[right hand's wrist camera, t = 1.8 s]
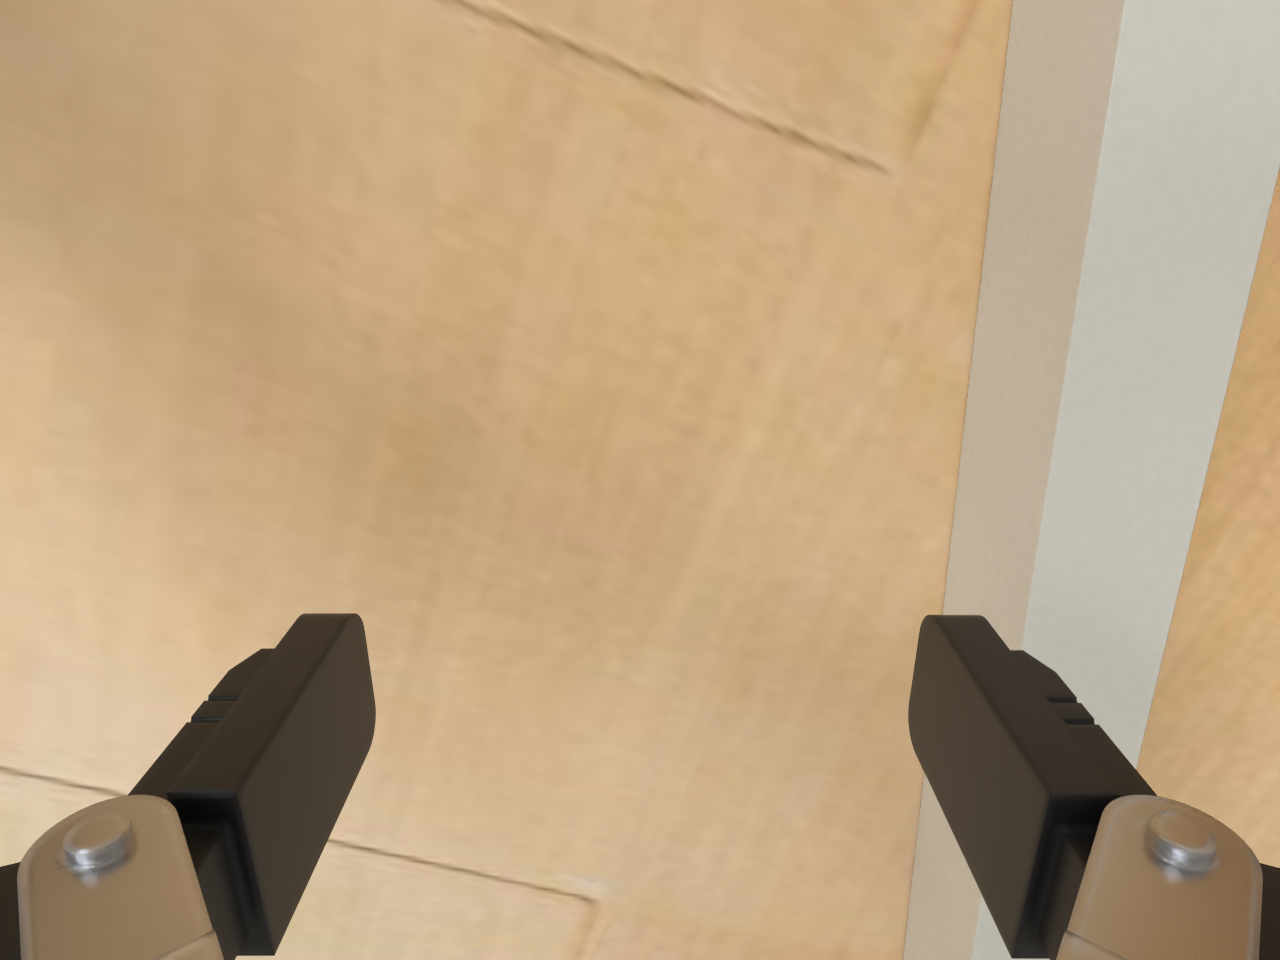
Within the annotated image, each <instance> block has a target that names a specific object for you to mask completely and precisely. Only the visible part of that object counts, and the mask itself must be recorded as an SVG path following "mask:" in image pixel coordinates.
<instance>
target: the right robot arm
mask: <svg viewBox="0 0 1280 960" xmlns="http://www.w3.org/2000/svg"><path fill="white" fill-rule="evenodd" d="M375 716H376V710H375V699H374V692H373V685H372V678H371V671H370V665H369V658H368V651H367V644H366V637H365V630H364V625H363V622H362V619H361V618H360V616H359V615H358V614H302V615H301V616H299V618H298V619H297V620H296V621H295V623H294V624H293V625H292V627H291V628H290V629H289V631H288V632H287V633H286V635H285V636H284V637H283V638H282V640H281V641H280V642H279V644H278V645H277V646H276V648H275V649H260V650H259V651H257V652H256V653H254V654H253V655H252V656H250V657H249V658H247V659H246V660H244V661H243V662H241V663H240V664H238V665H237V666H235V667H234V668H232V669H231V670H229V671H228V672H227V674H226V675H225V676H224V677H223V679H222V680H221V681H220V682H219V684H218V685H217V686H216V687H215V688H214V690H213V691H212V692H211V693H210V695H209V699H208V701H204V702H203V703H202V705H201V706H200V707H199V708H198V709H197V711H196V712H195V713H194V714H193V716H192V717H191V722H190V723H186V724H185V725H184V727H183V728H182V729H181V730H180V732H179V733H178V734H177V735H176V737H175V738H174V739H173V740H172V741H171V743H170V744H169V745H168V746H167V748H166V749H165V750H164V751H163V753H162V754H161V755H160V756H159V757H158V759H157V760H156V761H155V762H154V764H153V765H152V766H151V767H150V769H149V770H148V771H147V772H146V774H145V775H144V776H143V777H142V778H141V780H140V781H139V782H138V783H137V785H136V786H135V787H134V788H133V790H132V791H131V792H130V793H129V794H128V796H122V797H117V798H113V799H109V800H105V801H102V802H99V803H96V804H93V805H91V806H89V807H86V808H84V809H82V810H80V811H78V812H76V813H74V814H72V815H70V816H68V817H67V818H65V819H63V820H62V821H60V822H59V823H57V824H56V825H54V826H53V827H52V828H50V829H49V830H48V831H47V832H45V833H44V834H43V835H42V836H41V837H40V838H39V839H38V840H37V841H36V842H35V843H34V844H33V845H32V846H31V847H30V849H29V850H28V851H27V853H26V854H25V856H24V857H23V859H22V861H21V862H19V863H15V864H11V865H6V866H2V867H0V960H235V958H236V956H274V955H275V953H276V951H277V949H278V946H279V944H280V942H281V940H282V938H283V936H284V933H285V931H286V929H287V927H288V925H289V923H290V920H291V918H292V916H293V914H294V912H295V910H296V907H297V905H298V903H299V901H300V899H301V897H302V894H303V892H304V890H305V888H306V886H307V884H308V881H309V879H310V877H311V875H312V873H313V871H314V868H315V866H316V864H317V862H318V860H319V858H320V855H321V853H322V851H323V849H324V847H325V845H326V843H327V840H328V838H329V836H330V834H331V832H332V830H333V827H334V825H335V823H336V821H337V819H338V817H339V814H340V812H341V810H342V808H343V806H344V804H345V801H346V799H347V797H348V795H349V793H350V791H351V788H352V786H353V784H354V782H355V780H356V778H357V775H358V773H359V771H360V769H361V767H362V765H363V762H364V760H365V758H366V756H367V754H368V752H369V749H370V746H371V743H372V739H373V735H374V728H375ZM908 718H909V730H910V736H911V741H912V745H913V748H914V751H915V753H916V755H917V757H918V759H919V762H920V764H921V766H922V768H923V770H924V772H925V774H926V777H927V779H928V781H929V783H930V785H931V787H932V789H933V792H934V794H935V796H936V798H937V800H938V802H939V804H940V806H941V809H942V811H943V813H944V815H945V817H946V819H947V821H948V824H949V826H950V828H951V830H952V832H953V834H954V836H955V839H956V841H957V843H958V845H959V847H960V849H961V851H962V854H963V856H964V858H965V860H966V862H967V864H968V866H969V868H970V871H971V873H972V875H973V877H974V879H975V881H976V883H977V886H978V888H979V890H980V892H981V894H982V896H983V898H984V901H985V903H986V905H987V907H988V909H989V911H990V913H991V916H992V918H993V920H994V922H995V924H996V926H997V928H998V930H999V933H1000V935H1001V937H1002V939H1003V941H1004V943H1005V945H1006V948H1007V950H1008V952H1009V954H1010V956H1011V958H1012V959H1050V960H1280V868H1277V867H1272V866H1269V865H1265V864H1261V863H1259V861H1258V859H1257V857H1256V856H1255V854H1254V853H1253V851H1252V850H1251V849H1250V847H1249V846H1248V845H1247V844H1246V843H1245V842H1244V841H1243V840H1242V839H1241V838H1240V837H1239V836H1238V835H1237V834H1236V833H1235V832H1233V831H1232V830H1231V829H1230V828H1228V827H1227V826H1226V825H1224V824H1223V823H1221V822H1220V821H1218V820H1217V819H1215V818H1213V817H1212V816H1210V815H1208V814H1206V813H1204V812H1202V811H1200V810H1198V809H1196V808H1194V807H1191V806H1189V805H1187V804H1184V803H1181V802H1178V801H1175V800H1171V799H1167V798H1163V797H1158V796H1157V795H1156V794H1155V792H1154V791H1153V790H1152V789H1151V788H1150V786H1149V785H1148V784H1147V783H1146V781H1145V780H1144V779H1143V778H1142V777H1141V775H1140V774H1139V773H1138V772H1137V770H1136V769H1135V768H1134V767H1133V766H1132V764H1131V763H1130V762H1129V761H1128V759H1127V758H1126V757H1125V756H1124V755H1123V753H1122V752H1121V751H1120V750H1119V748H1118V747H1117V746H1116V745H1115V744H1114V742H1113V741H1112V740H1111V739H1110V738H1109V736H1108V735H1107V734H1106V733H1105V731H1104V730H1103V729H1102V728H1101V727H1100V725H1095V723H1094V718H1093V717H1092V716H1091V714H1090V713H1089V712H1088V711H1087V709H1086V708H1085V707H1084V706H1083V705H1082V703H1077V697H1076V696H1075V695H1074V694H1073V692H1072V691H1071V690H1070V689H1069V687H1068V686H1067V685H1066V684H1065V683H1064V681H1063V680H1062V679H1061V678H1060V676H1059V675H1058V674H1057V673H1056V672H1055V671H1054V670H1052V669H1051V668H1049V667H1048V666H1046V665H1045V664H1043V663H1042V662H1040V661H1039V660H1037V659H1036V658H1034V657H1033V656H1031V655H1030V654H1028V653H1027V652H1025V651H1024V650H1010V649H1009V648H1008V647H1007V645H1006V644H1005V643H1004V641H1003V640H1002V639H1001V638H1000V636H999V635H998V634H997V632H996V631H995V630H994V628H993V627H992V626H991V624H990V623H989V622H988V620H987V619H986V618H985V617H983V616H982V615H927V616H926V617H925V618H924V619H923V621H922V624H921V627H920V633H919V639H918V646H917V653H916V660H915V667H914V674H913V680H912V687H911V694H910V701H909V712H908Z"/></svg>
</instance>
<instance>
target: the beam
mask: <svg viewBox="0 0 1280 960" xmlns="http://www.w3.org/2000/svg"><path fill="white" fill-rule="evenodd" d="M1279 168H1280V0H1013V6H1012V14H1011V23H1010V32H1009V40H1008V49H1007V58H1006V67H1005V75H1004V84H1003V93H1002V101H1001V110H1000V119H999V128H998V136H997V145H996V154H995V162H994V171H993V180H992V188H991V197H990V206H989V215H988V223H987V232H986V241H985V249H984V258H983V267H982V275H981V284H980V293H979V302H978V310H977V319H976V328H975V336H974V345H973V354H972V362H971V371H970V380H969V389H968V397H967V406H966V415H965V423H964V432H963V441H962V450H961V458H960V467H959V476H958V484H957V493H956V502H955V510H954V519H953V528H952V537H951V545H950V554H949V563H948V571H947V580H946V589H945V597H944V606H943V615H982V616H983V617H985V618H986V619H987V620H988V622H989V623H990V624H991V626H992V627H993V628H994V630H995V631H996V632H997V634H998V635H999V636H1000V638H1001V639H1002V640H1003V641H1004V643H1005V644H1006V645H1007V647H1008V648H1009V649H1010V650H1024V651H1025V652H1027V653H1028V654H1030V655H1031V656H1033V657H1034V658H1036V659H1037V660H1039V661H1040V662H1042V663H1043V664H1045V665H1046V666H1048V667H1049V668H1051V669H1052V670H1054V671H1055V672H1056V673H1057V674H1058V675H1059V676H1060V678H1061V679H1062V680H1063V681H1064V683H1065V684H1066V685H1067V686H1068V687H1069V689H1070V690H1071V691H1072V692H1073V694H1074V695H1075V696H1076V697H1077V703H1082V705H1083V706H1084V707H1085V708H1086V709H1087V711H1088V712H1089V713H1090V714H1091V716H1092V717H1093V718H1094V723H1095V725H1100V727H1101V728H1102V729H1103V730H1104V731H1105V733H1106V734H1107V735H1108V736H1109V738H1110V739H1111V740H1112V741H1113V742H1114V744H1115V745H1116V746H1117V747H1118V748H1119V750H1120V751H1121V752H1122V753H1123V755H1124V756H1125V757H1126V758H1127V759H1128V761H1129V762H1130V763H1131V764H1132V766H1133V767H1134V768H1135V769H1136V767H1137V763H1138V759H1139V755H1140V750H1141V746H1142V742H1143V738H1144V734H1145V729H1146V725H1147V721H1148V717H1149V713H1150V709H1151V704H1152V700H1153V696H1154V692H1155V688H1156V683H1157V679H1158V675H1159V671H1160V667H1161V662H1162V658H1163V654H1164V650H1165V646H1166V642H1167V637H1168V633H1169V629H1170V625H1171V621H1172V616H1173V612H1174V608H1175V604H1176V600H1177V595H1178V591H1179V587H1180V583H1181V579H1182V575H1183V570H1184V566H1185V562H1186V558H1187V554H1188V549H1189V545H1190V541H1191V537H1192V533H1193V528H1194V524H1195V520H1196V516H1197V512H1198V507H1199V503H1200V499H1201V495H1202V491H1203V487H1204V482H1205V478H1206V474H1207V470H1208V466H1209V461H1210V457H1211V453H1212V449H1213V445H1214V440H1215V436H1216V432H1217V428H1218V424H1219V420H1220V415H1221V411H1222V407H1223V403H1224V399H1225V394H1226V390H1227V386H1228V382H1229V378H1230V373H1231V369H1232V365H1233V361H1234V357H1235V353H1236V348H1237V344H1238V340H1239V336H1240V332H1241V327H1242V323H1243V319H1244V315H1245V311H1246V306H1247V302H1248V298H1249V294H1250V290H1251V286H1252V281H1253V277H1254V273H1255V269H1256V265H1257V260H1258V256H1259V252H1260V248H1261V244H1262V239H1263V235H1264V231H1265V227H1266V223H1267V219H1268V214H1269V210H1270V206H1271V202H1272V198H1273V193H1274V189H1275V185H1276V181H1277V177H1278V172H1279ZM903 960H1050V959H1012V958H1011V956H1010V954H1009V952H1008V950H1007V948H1006V945H1005V943H1004V941H1003V939H1002V937H1001V935H1000V933H999V930H998V928H997V926H996V924H995V922H994V920H993V918H992V916H991V913H990V911H989V909H988V907H987V905H986V903H985V901H984V898H983V896H982V894H981V892H980V890H979V888H978V886H977V883H976V881H975V879H974V877H973V875H972V873H971V871H970V868H969V866H968V864H967V862H966V860H965V858H964V856H963V854H962V851H961V849H960V847H959V845H958V843H957V841H956V839H955V836H954V834H953V832H952V830H951V828H950V826H949V824H948V821H947V819H946V817H945V815H944V813H943V811H942V809H941V806H940V804H939V802H938V800H937V798H936V796H935V794H934V792H933V789H932V787H931V785H930V783H929V781H928V779H927V777H926V774H925V772H924V780H923V789H922V798H921V806H920V815H919V824H918V832H917V841H916V850H915V859H914V867H913V876H912V885H911V893H910V902H909V911H908V920H907V928H906V937H905V946H904V954H903Z"/></svg>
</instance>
